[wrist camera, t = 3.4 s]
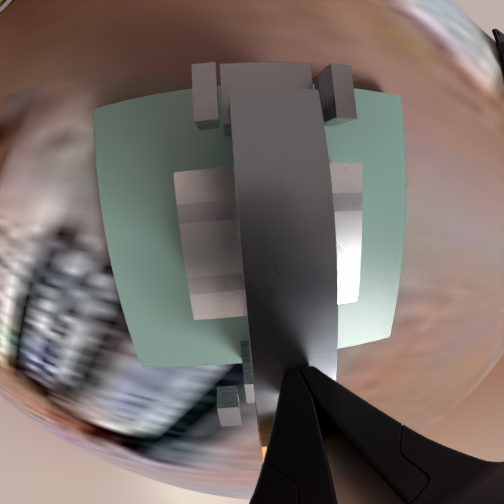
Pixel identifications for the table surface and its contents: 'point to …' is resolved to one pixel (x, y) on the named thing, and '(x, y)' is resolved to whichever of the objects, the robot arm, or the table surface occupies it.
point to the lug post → (236, 392)
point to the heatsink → (228, 241)
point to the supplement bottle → (4, 4)
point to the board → (168, 232)
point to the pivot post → (270, 76)
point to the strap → (284, 238)
